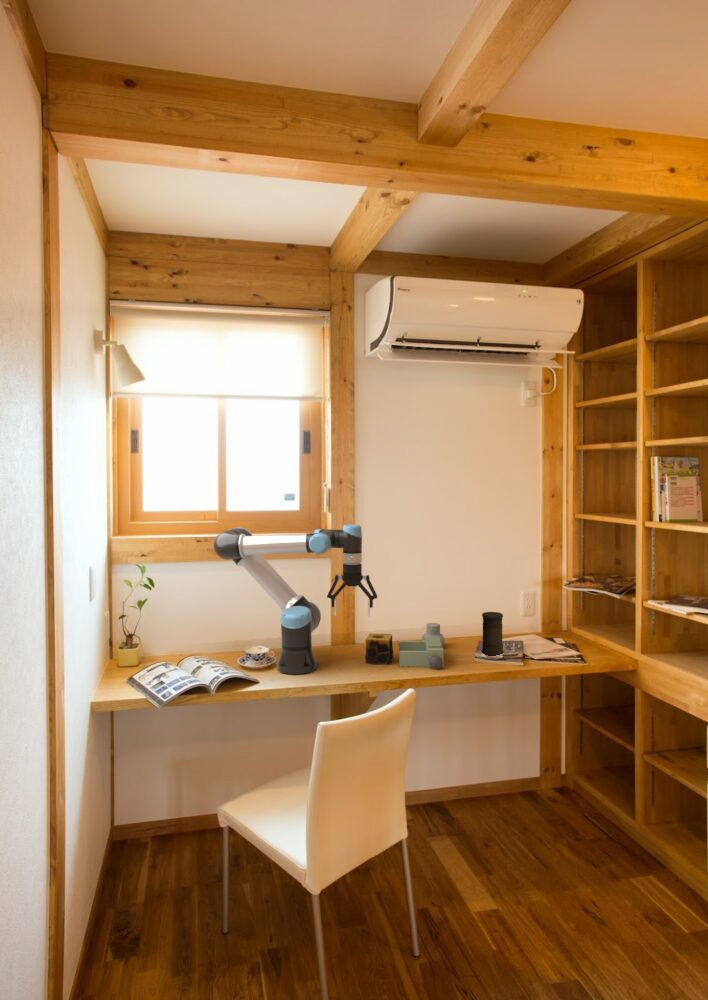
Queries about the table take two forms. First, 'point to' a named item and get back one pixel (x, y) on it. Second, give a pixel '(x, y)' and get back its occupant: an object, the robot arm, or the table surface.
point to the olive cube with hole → (379, 649)
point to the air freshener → (433, 632)
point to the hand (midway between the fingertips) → (352, 615)
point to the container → (492, 633)
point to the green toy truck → (421, 653)
